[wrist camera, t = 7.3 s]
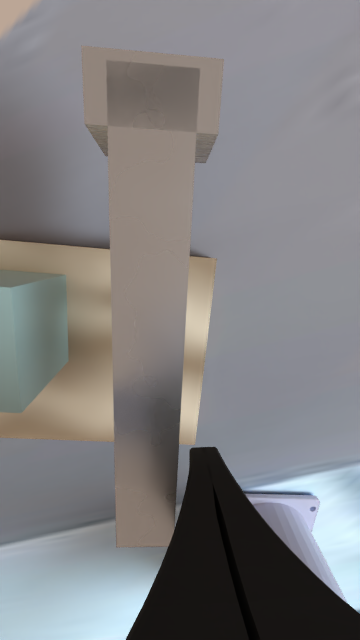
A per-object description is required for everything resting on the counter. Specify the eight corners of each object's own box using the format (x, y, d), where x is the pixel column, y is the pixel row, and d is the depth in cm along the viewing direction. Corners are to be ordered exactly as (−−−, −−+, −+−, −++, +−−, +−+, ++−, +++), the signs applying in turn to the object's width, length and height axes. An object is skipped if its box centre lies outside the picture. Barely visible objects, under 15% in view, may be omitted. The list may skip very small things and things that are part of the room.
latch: (178, 417, 16) (187, 545, 9) (130, 417, 16) (102, 547, 9) (192, 167, 13) (223, 58, 5) (130, 162, 12) (81, 45, 5)
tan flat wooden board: (192, 424, 19) (194, 444, 17) (-22, 415, 18) (-45, 435, 16) (210, 257, 16) (216, 258, 14) (-46, 235, 15) (-78, 233, 13)
